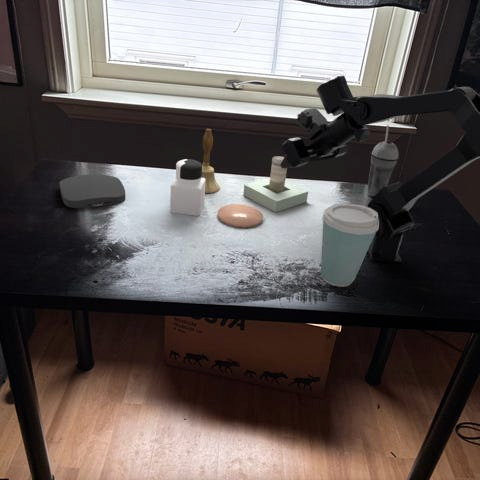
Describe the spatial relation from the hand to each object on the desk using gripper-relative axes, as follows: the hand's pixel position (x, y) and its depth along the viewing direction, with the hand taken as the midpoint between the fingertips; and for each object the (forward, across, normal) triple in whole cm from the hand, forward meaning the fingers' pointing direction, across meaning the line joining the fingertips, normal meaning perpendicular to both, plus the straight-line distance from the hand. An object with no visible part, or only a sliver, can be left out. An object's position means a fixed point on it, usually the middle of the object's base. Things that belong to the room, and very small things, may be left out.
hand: (294, 163), depth 117 cm
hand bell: (+22, +12, -6) cm, 26 cm away
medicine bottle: (+16, +24, 0) cm, 29 cm away
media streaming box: (+30, +39, -13) cm, 51 cm away
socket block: (+11, 0, +5) cm, 12 cm away
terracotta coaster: (+9, +16, +7) cm, 19 cm away
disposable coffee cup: (-13, +17, +29) cm, 36 cm away
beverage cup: (+2, -27, +14) cm, 31 cm away
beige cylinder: (+11, 0, +5) cm, 12 cm away
